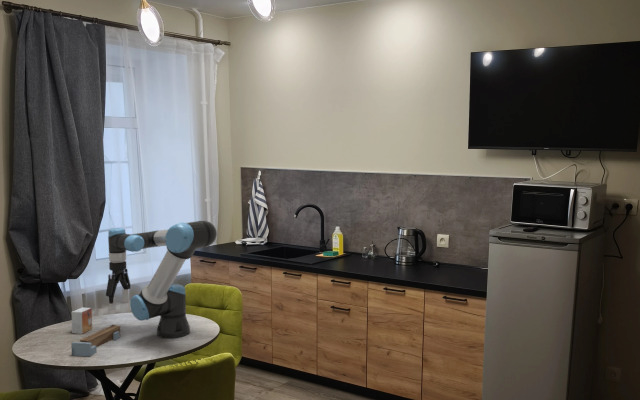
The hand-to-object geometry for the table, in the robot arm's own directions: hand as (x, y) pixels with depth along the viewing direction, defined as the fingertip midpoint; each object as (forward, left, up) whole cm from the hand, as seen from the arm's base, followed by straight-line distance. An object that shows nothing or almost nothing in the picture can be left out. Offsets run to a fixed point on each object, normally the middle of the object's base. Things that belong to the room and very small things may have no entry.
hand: (119, 306), depth 265 cm
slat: (+1, +16, -13) cm, 20 cm away
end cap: (0, +30, -12) cm, 32 cm away
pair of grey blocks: (0, +10, -12) cm, 16 cm away
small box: (+18, +2, -13) cm, 22 cm away
